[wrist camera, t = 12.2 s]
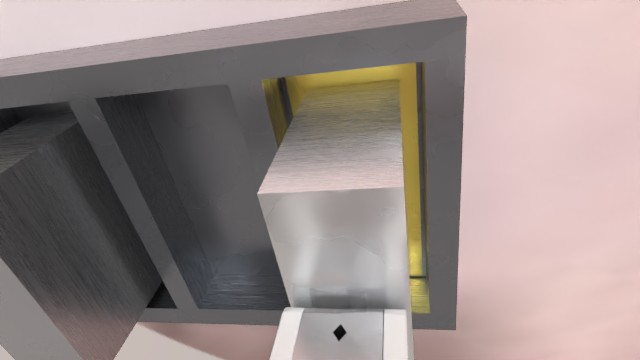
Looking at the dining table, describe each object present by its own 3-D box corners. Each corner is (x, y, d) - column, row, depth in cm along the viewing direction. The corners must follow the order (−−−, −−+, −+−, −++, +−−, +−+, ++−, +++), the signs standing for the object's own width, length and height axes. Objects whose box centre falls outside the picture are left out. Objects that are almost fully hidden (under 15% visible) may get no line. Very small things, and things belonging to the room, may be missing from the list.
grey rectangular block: (398, 79, 13) (404, 186, 8) (408, 262, 17) (416, 406, 12) (307, 89, 13) (257, 193, 8) (339, 262, 17) (318, 399, 13)
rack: (451, -6, 12) (506, 69, 6) (446, 278, 19) (471, 442, 13) (-12, 61, 16) (-244, 146, 10) (121, 278, 22) (26, 406, 16)
